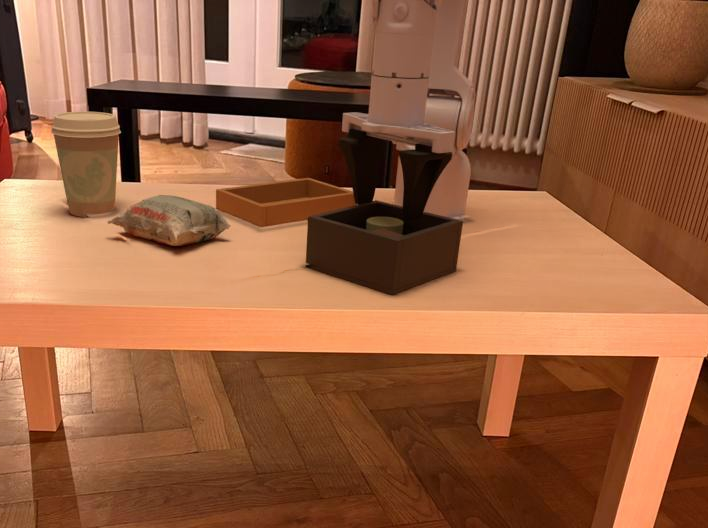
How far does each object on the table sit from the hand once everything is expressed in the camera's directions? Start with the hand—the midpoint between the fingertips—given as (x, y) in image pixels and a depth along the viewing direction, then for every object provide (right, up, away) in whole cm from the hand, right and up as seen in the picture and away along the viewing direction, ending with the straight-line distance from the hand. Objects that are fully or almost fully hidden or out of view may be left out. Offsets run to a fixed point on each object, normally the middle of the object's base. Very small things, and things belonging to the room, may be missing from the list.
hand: (387, 210), depth 83 cm
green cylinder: (0, -5, +2) cm, 5 cm away
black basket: (-1, -6, 0) cm, 6 cm away
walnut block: (-1, -7, -3) cm, 8 cm away
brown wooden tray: (-11, +4, +20) cm, 23 cm away
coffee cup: (-36, +4, +18) cm, 40 cm away
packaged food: (-24, -2, +6) cm, 25 cm away
